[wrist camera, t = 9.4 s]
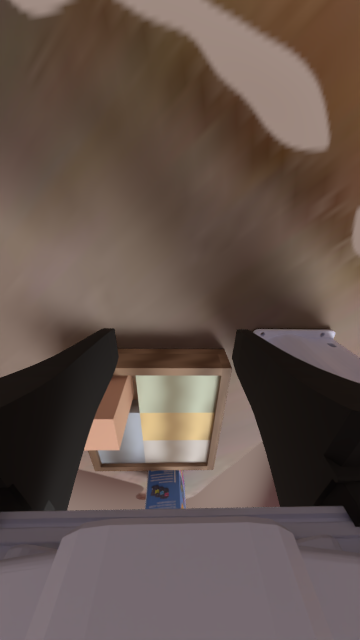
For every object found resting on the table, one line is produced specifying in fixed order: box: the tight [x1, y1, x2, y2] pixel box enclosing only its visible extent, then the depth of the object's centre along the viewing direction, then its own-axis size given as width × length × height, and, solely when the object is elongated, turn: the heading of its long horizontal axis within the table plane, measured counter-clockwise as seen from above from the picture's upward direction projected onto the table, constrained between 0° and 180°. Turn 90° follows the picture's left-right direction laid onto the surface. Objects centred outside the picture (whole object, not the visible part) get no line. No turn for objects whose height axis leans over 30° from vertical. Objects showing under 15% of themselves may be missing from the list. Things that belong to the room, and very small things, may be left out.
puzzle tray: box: [88, 349, 232, 471], centre depth 25 cm, size 18×20×4 cm
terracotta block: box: [84, 375, 134, 450], centre depth 20 cm, size 5×5×7 cm
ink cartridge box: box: [145, 470, 186, 509], centre depth 28 cm, size 10×6×14 cm, turn 7°
